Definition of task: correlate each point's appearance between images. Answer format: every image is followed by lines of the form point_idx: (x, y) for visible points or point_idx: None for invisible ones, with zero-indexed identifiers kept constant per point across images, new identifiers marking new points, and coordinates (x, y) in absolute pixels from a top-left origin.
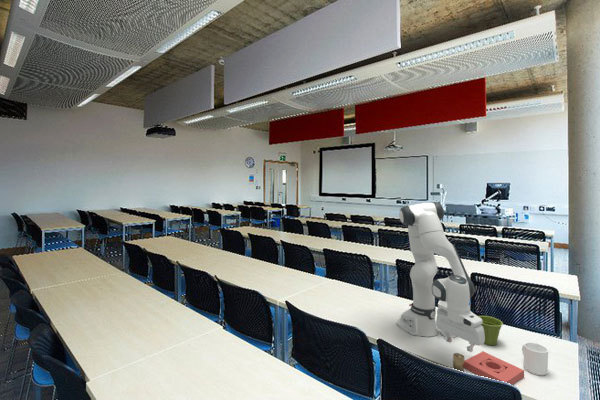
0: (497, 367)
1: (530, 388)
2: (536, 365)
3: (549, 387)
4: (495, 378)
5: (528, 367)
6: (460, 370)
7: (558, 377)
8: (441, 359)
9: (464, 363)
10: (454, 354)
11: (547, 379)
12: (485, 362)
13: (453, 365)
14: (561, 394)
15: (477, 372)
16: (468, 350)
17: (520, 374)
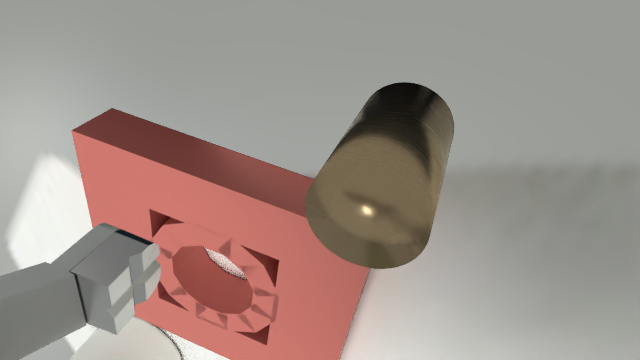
0: (218, 289)
1: (75, 201)
2: (88, 352)
3: (55, 250)
4: (136, 148)
5: (135, 340)
6: (367, 107)
7: (85, 328)
8: (605, 229)
9: None
10: (417, 222)
11: None
12: (257, 294)
13: (438, 129)
14: (13, 226)
15: (273, 178)
16: (121, 237)
17: None
